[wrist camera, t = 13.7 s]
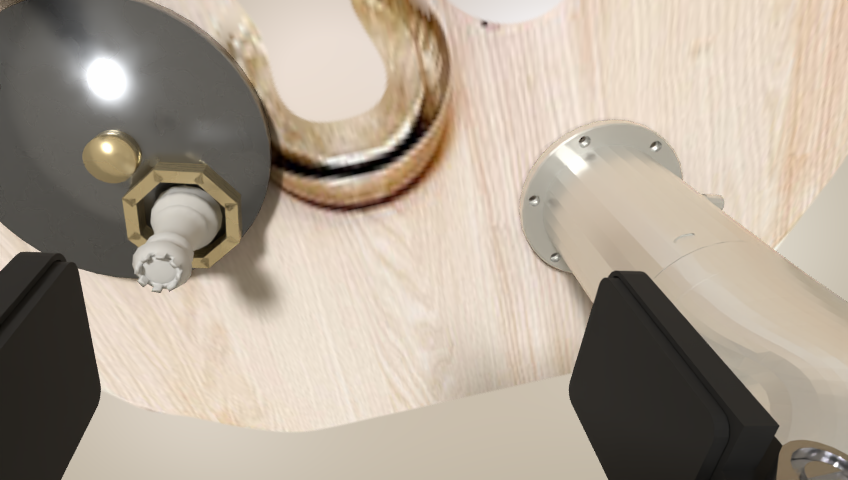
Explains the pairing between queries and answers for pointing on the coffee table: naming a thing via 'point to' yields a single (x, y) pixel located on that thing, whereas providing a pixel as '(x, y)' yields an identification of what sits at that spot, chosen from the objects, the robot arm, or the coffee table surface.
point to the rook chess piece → (176, 236)
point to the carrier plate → (121, 129)
